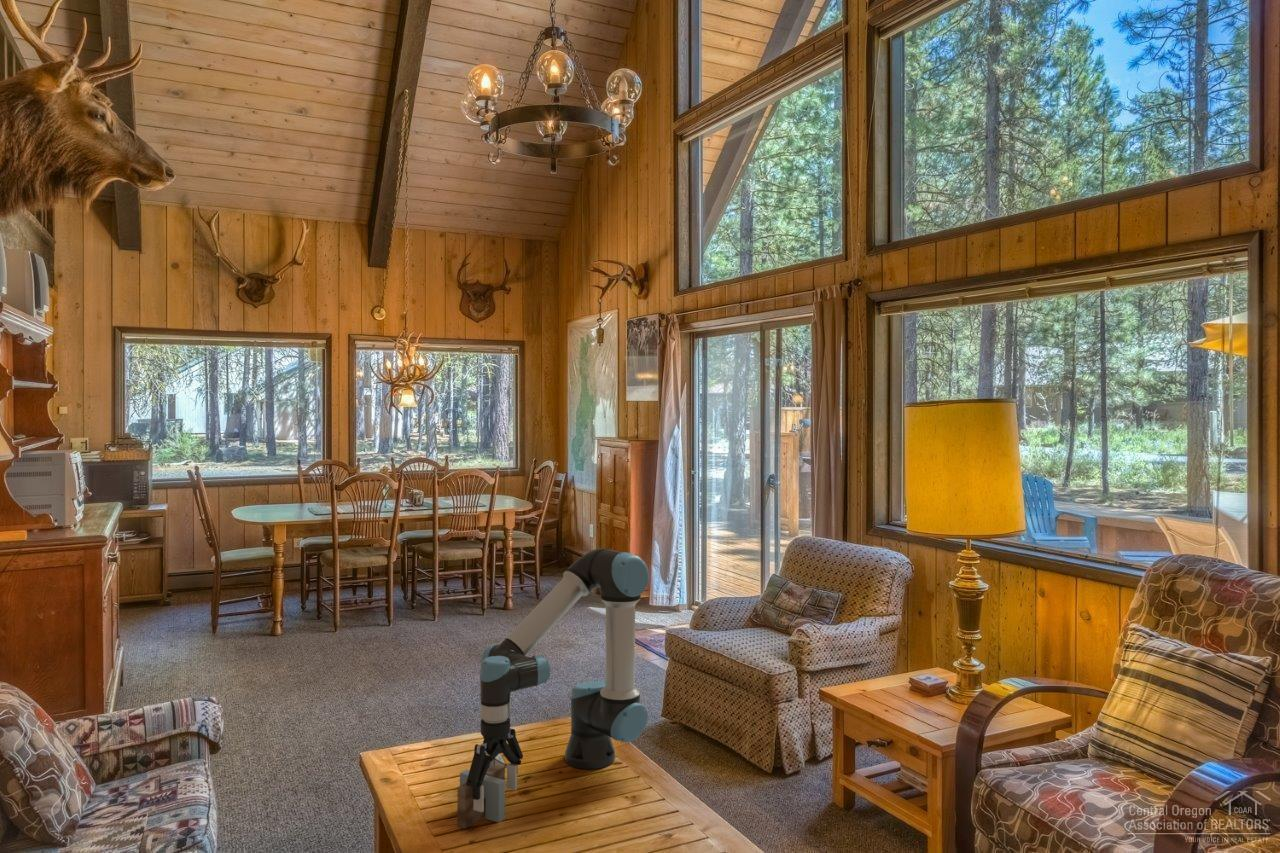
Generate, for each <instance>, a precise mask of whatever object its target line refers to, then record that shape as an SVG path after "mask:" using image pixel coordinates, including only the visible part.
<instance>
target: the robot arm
mask: <svg viewBox="0 0 1280 853" xmlns="http://www.w3.org/2000/svg"><path fill="white" fill-rule="evenodd" d="M562 575H563V576H562V579H561V580H560V581H558V583H557V584H556V585H555V586H554V587H553V588H552V589H551V590H550V591H549V592H548V593H547V595H545V597H544V598H543V599H542V600H541V601H540V602H539V603H538V604H537V605H536V606H535V607H534V608H533V609H532V610H531V611H530V612H529V613H528V614H527V615H526V617H524V619H523V620H521V622H520V623H519V624H518V625H517V626H516V627H515V628H514V629H513V630H512V631H511V632H510V633H509V634H508V635H507V636H506V638H505V639H504V640H502V641H501V642H500V644H491V645H489V646H488V647H486V648H485V649H484V650H483V653H482V655H481V662H480V672H479V680H480V681H479V682H480V683H479V686H480V690H479V691H480V735H481V737H483V741H482V744H478V743H477V744H475V745H474V751H473V752H474V753H473V756H472V761H471V764H470V767H469V770H470V771H469V775H468V778H467V782H466V785H467V786H470V787H472V793H473V794H472V797H473V807H474V810H475V811H479V812H483V811H484V786H483V785H482V782H483V780H484V777H485V775H486V772H487V770H488V768H489V765H490V763H491V761H493V760H494V757H495V756H497V755H498V754H500V753H501V754H502V756H504V757H505V759H506V760H507V761H508V762H509V763H506V764H507V766H506V789H507V790H511V791H517V790H518V771H519V770H518V766H520V765H521V764H522V760H523V758H524V754H523V752H522V749H521V747H520V744H519V742H518V739H517V735H516V734H517V732H516V729H514V728H511V693H513V692H516V691H520V690H524V689H530V688H533V687H538V686H540V685H542V684H545V683H547V682H548V681H549V679H550V678H551V677H550V676H551V665H550V662H549V660H548V659H547V658H546V656H545V655H542V654H538V655H532V656H527V655H528V654H529V653H530V652H531V651H532V650H533V649H534V647H535V646H536V645H538V643H540V641H541V640H543V638H544V637H545V636H546V635H547V634H548V632H550V630H552V628H553V627H554V626H555V625H556V624H557V623H558V622H559V621H560V620H561V619H562V618H563V616H565V614H567V612H568V611H569V610H570V609H571V608H572V607H573V606H574V605H575V604H576V603H577V602H578V601H579V600H580V599H581V597H587V596H588V595H589V594H590V593H591V592H592V591H593V590H596V589H597V588H599V589H600V600H601V602H602V603H604V604H605V664H604V666H605V672H604V673H605V676H604V677H605V678H604V679H605V680H588V681H582V682H579V683H576V684H575V685H573V687H572V689H571V697H570V730H571V731H570V736H569V740H568V742H567V746H566V749H565V751H564V760H565V762H566V764H567V765H568V766H571V767H573V768H577V769H581V770H596V769H597V770H599V769H601V768H605V767H608V766H610V765H612V764H613V763H614V762H615V760H616V751H615V747H614V744H613V741H612V740H614V741H618V742H621V743H631V742H634V741H635V740H636V739H638V738H639V737H640V736H641V735H642V734H643V732H644V731H645V729H646V727H647V724H648V719H649V717H648V716H649V712H648V709H647V708H646V707H645V705H644V704H642V703H641V691H640V689H639V688H637V686H636V683H635V682H636V673H635V672H636V605H637V603H639V602H640V601H641V595H642V594H643V593H644V592H645V591H646V587H648V585H649V580H650V573H649V568H648V566H647V563H646V562H645V561H644V560H643V558H641V557H640V556H638V555H635V554H633V553H631V552H628V551H627V552H625V551H621V550H620V551H619V550H615V549H614V550H613V549H609V548H606V547H605V548H604V547H603V548H601V547H600V548H596V549H593V550H590V551H588V552H586V553H585V554H583V555H581V557H579V558H577V560H575V561H573V563H572V564H571V565H569V567H568V568H566V570H565V571H564V572H563V574H562ZM486 754H488V755H489V756H487V755H486Z"/></svg>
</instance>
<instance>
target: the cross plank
mask: <svg viewBox="0 0 1280 853" xmlns="http://www.w3.org/2000/svg"><path fill="white" fill-rule="evenodd" d="M469 771H470V769H465V770H462V771H461V772H459V786H461V785H462V784H464V783H466V782H467V778H468V775H469ZM482 785H483V786H484V798H485V816H484V817H485V819H486V820H488V821H492V822H496V823H498V824H499V823H500V822H502V821H504V820H505V819H506V779H505V780H502V779H499V778H495V777H492V776H488V775H485V777H484V780H483V782H482Z"/></svg>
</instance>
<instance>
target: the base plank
mask: <svg viewBox="0 0 1280 853" xmlns="http://www.w3.org/2000/svg"><path fill="white" fill-rule="evenodd" d="M505 772H506V767H505V766H502V765H498V764H497V765H496V766H494V767H492V768H490V769H489V770H487V772H486V775H488V776H492V777H495V778H499V779H502V780H505V781H506V778H505V777H506V773H505ZM472 794H473V793H472V787H470V786H467V785H466V783H464V784H462V785H461V786H460V785H459V786H458V787H457V804H456V805H457V806H456V807H457V810H456V812H457V816H456V817H457V819H456V821H457V822H456V823H457V825H456V827H457V828H461V829H463V830H464V829H467V828H469V827H470V826H472V825H473V824H475V823H476V822H478V821H479V820H481V819H483V818H484V817H485V798H484V811H483V812H479V811H475V810H474V807H473V797H472Z"/></svg>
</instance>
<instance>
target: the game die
mask: <svg viewBox="0 0 1280 853" xmlns="http://www.w3.org/2000/svg"><path fill="white" fill-rule="evenodd" d="M486 755H487V756H489V755H488V754H487V753H486ZM497 764H498V765H502V766H505V768H507V764H508V763H506V760H505V759H504V757H503V754H502V753H500V754H498V755H497V756H495V757H494V760H493V761H491V763H490V765H489V768H488V770H489V769H490V768H492V767H494V766H496V765H497Z"/></svg>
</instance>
